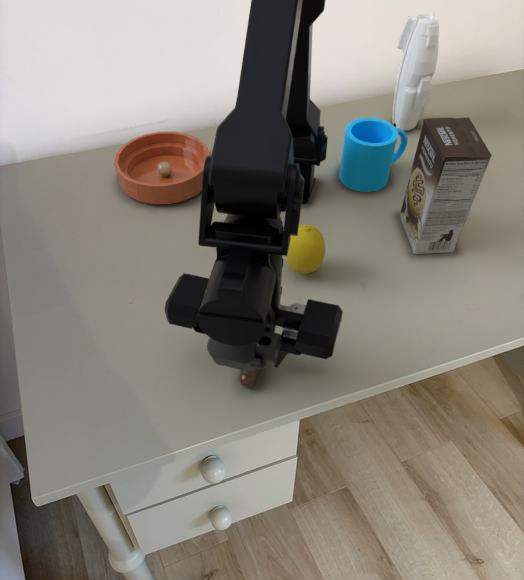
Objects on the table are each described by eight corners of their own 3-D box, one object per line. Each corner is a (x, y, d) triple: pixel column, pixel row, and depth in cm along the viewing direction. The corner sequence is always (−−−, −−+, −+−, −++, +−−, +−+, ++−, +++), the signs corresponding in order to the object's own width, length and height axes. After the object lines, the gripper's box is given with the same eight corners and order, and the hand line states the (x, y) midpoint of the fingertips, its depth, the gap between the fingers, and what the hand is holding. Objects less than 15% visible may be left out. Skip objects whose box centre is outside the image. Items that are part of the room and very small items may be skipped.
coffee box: (397, 215, 83) (422, 116, 70) (437, 213, 83) (470, 114, 70) (412, 255, 77) (442, 156, 64) (455, 253, 77) (494, 154, 65)
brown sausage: (255, 338, 68) (255, 328, 66) (270, 341, 67) (271, 331, 66) (236, 388, 63) (236, 379, 61) (252, 392, 63) (252, 383, 61)
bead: (174, 172, 88) (173, 159, 86) (169, 180, 87) (167, 168, 85) (161, 170, 89) (159, 157, 87) (156, 178, 87) (153, 165, 85)
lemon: (326, 262, 76) (332, 218, 70) (316, 289, 73) (321, 245, 67) (290, 254, 77) (292, 209, 71) (278, 279, 74) (279, 235, 68)
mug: (358, 197, 85) (366, 151, 79) (329, 171, 90) (335, 126, 83) (416, 176, 89) (428, 130, 82) (386, 151, 93) (395, 106, 87)
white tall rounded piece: (377, 119, 100) (399, 138, 96) (396, 12, 86) (423, 30, 82) (406, 111, 102) (429, 130, 97) (430, 6, 87) (458, 23, 83)
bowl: (223, 160, 91) (222, 139, 88) (192, 214, 83) (190, 193, 79) (142, 146, 94) (138, 125, 91) (104, 197, 85) (98, 176, 82)
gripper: (131, 304, 49) (157, 395, 61) (329, 349, 46) (314, 435, 58) (175, 228, 55) (191, 324, 68) (352, 263, 52) (334, 356, 65)
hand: (254, 359), depth 64 cm, fingers open, 5 cm apart
